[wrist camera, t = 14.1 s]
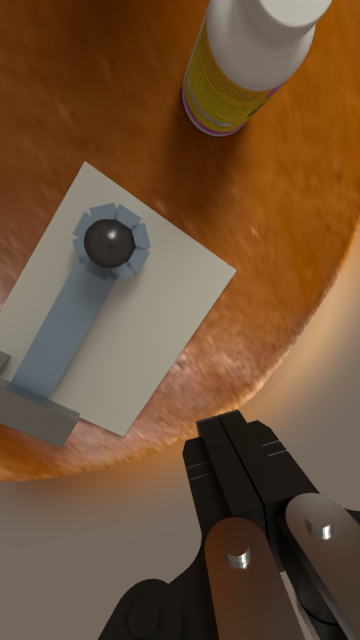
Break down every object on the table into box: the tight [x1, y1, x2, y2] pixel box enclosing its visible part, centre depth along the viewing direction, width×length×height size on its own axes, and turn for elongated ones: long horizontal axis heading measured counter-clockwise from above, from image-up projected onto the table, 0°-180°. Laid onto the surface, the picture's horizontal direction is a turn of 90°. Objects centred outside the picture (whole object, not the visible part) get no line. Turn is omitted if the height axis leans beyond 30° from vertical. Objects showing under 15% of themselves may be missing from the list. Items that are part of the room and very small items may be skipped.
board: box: [0, 161, 237, 437], centre depth 29 cm, size 22×17×1 cm
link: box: [11, 203, 151, 399], centre depth 26 cm, size 19×6×3 cm, turn 148°
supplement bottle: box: [182, 0, 332, 136], centre depth 20 cm, size 7×7×13 cm
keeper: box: [0, 351, 80, 448], centre depth 27 cm, size 3×10×6 cm, turn 56°
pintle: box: [84, 219, 133, 268], centre depth 23 cm, size 3×3×9 cm
